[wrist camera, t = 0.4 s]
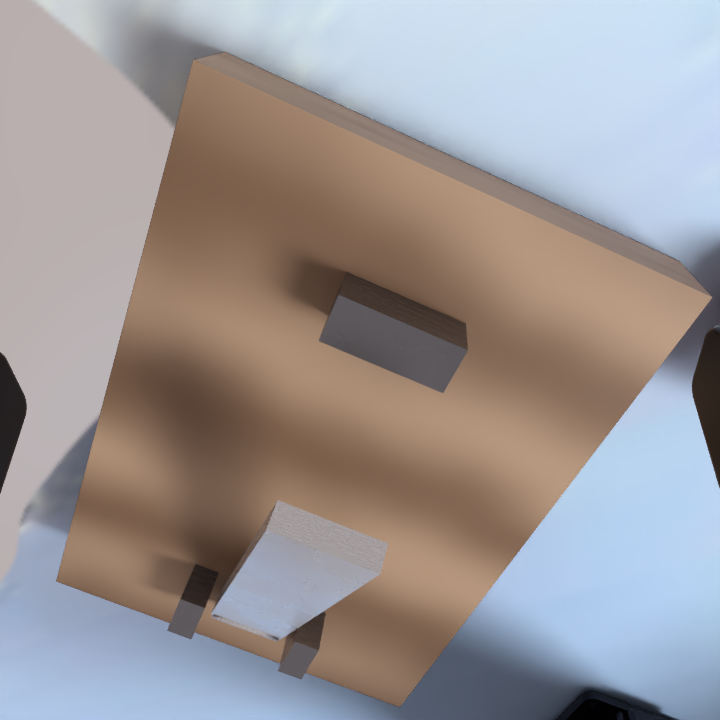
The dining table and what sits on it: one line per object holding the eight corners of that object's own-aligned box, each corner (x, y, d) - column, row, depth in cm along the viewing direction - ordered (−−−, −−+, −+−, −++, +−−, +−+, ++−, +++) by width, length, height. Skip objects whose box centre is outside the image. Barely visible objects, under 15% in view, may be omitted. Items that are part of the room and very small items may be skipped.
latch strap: (284, 621, 28) (277, 643, 27) (217, 596, 28) (208, 618, 27) (388, 543, 17) (379, 578, 16) (277, 500, 16) (264, 533, 16)
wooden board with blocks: (403, 649, 32) (399, 707, 30) (88, 531, 31) (56, 581, 28) (679, 261, 22) (712, 297, 19) (224, 51, 20) (193, 60, 18)
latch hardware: (308, 641, 28) (301, 679, 27) (182, 594, 28) (167, 630, 26) (490, 334, 21) (494, 361, 19) (320, 260, 20) (310, 282, 18)
